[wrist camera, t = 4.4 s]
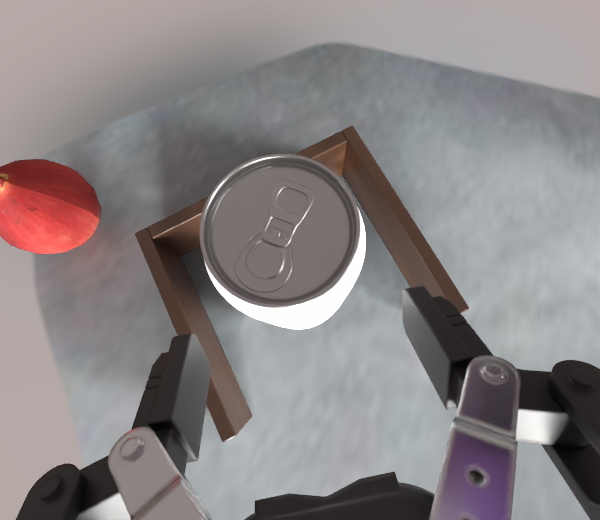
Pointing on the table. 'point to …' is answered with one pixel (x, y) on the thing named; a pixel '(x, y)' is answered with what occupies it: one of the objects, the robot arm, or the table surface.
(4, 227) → the onion
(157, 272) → the frame
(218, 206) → the can
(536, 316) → the table surface
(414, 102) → the table surface
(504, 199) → the table surface
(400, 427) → the table surface
